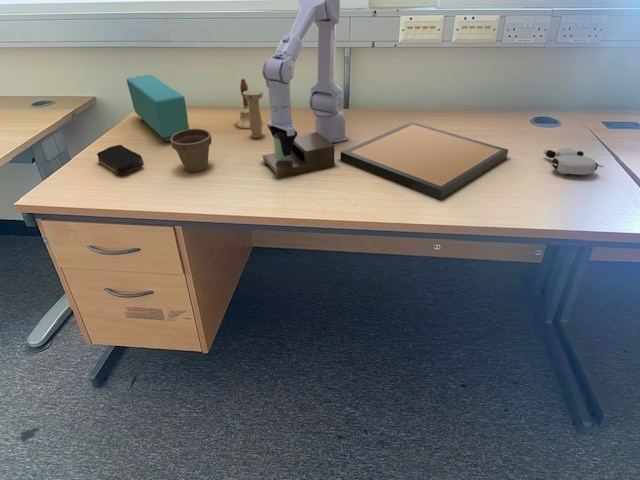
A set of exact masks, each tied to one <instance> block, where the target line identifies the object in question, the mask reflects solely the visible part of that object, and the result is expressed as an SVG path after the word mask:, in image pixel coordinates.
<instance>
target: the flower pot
mask: <svg viewBox="0 0 640 480" xmlns="http://www.w3.org/2000/svg"><path fill="white" fill-rule="evenodd" d="M169 142H170V145H171V148H172V149H173V150H174V151H176V152H177V155H178V157H179V159H180V162H181V163H182V166H183V168H184V169H185V170H186V171H187V172H190V173H196V172H197V173H198V172H202V171H204V170H206V169H207V168H208V166H209V165H208V164H209V155H210V154H209V153H210V146H211V144H212V134H211V132H210V131H208V130H207V129H203V128H189V129H187V130H183V131H179V132H177V133H175V134H173V135H172V136H171V138H170V141H169Z"/></svg>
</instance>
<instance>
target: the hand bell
mask: <svg viewBox="0 0 640 480" xmlns="http://www.w3.org/2000/svg"><path fill="white" fill-rule="evenodd" d="M248 87H249V86H248V83H247V81H246V79H245V78H241V79H240V86H239V88H240V94H241V97H242V103H243V104H242V105H243V108H241V109H240V111H239V112H240V113H239V120H238V121H237V122H236V127H238V128H240V129H251V128H250V121H249V103H248V100H247V99H246V98H244V97H243V92H244V91H249V88H248Z"/></svg>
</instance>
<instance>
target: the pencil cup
mask: <svg viewBox="0 0 640 480" xmlns="http://www.w3.org/2000/svg"><path fill="white" fill-rule="evenodd" d="M272 138H273V150H274V151H273V152H274V153H275V158H276V159H277V160H280V161H286V160H290V159H291V158H292V157H293V155H292V152H291V155H288V156H284V155H283V152H282V148H281V143H280V140H279V138H278V136H277V135H276V134H275V135H274V136H272Z"/></svg>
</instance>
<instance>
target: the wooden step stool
mask: <svg viewBox="0 0 640 480" xmlns="http://www.w3.org/2000/svg"><path fill="white" fill-rule="evenodd" d="M292 155H293V157H292V158H291V159H290V160H286V161H280V160H277V159H276V158H275V152H273V153H268V154H263V155H262V161H263V164H264V166H266V165H267V166H269V168H270V169H272V171H273V172H274V174H275V178H276V179H277V180H280V179H285V178H288V177H292V176H298V175H302V174H306V173H311V172H316V171H320V170H325V169H331V168H333V167H334V168H335V145H334V143H330V142H329V141H328V140H327V139H325V138H324V137H323V136H321V135H320V134H319V133H318V132H316V131H315V132H310V133H305V134H300V135H297V136H296V138H295V140H294V143H293V147H292ZM302 158H304V161H303V160H302Z"/></svg>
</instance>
